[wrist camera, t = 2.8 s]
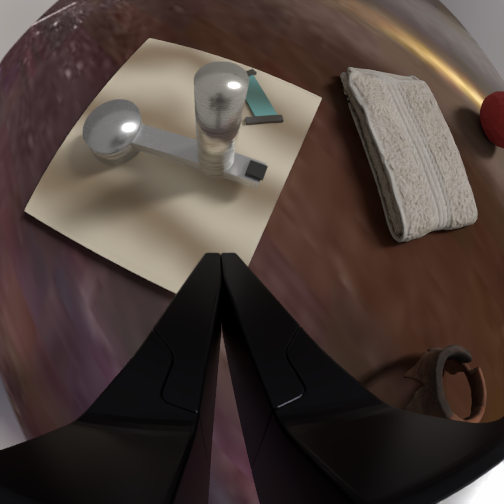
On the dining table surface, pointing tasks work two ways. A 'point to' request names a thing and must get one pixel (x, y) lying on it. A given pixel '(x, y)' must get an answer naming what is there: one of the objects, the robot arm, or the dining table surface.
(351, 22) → the dining table surface
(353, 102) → the washcloth
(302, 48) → the dining table surface
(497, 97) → the tomato
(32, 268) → the dining table surface
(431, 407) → the pottery mug
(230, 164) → the crank handle
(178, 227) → the napkin
